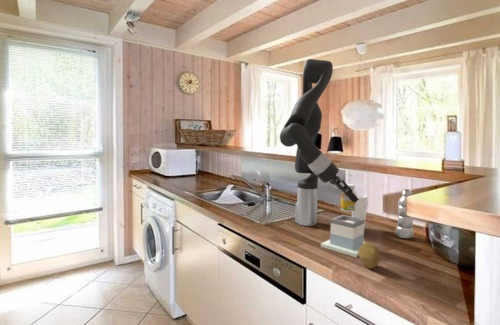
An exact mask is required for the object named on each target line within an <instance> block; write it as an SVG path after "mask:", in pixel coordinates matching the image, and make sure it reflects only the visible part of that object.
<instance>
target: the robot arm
mask: <svg viewBox="0 0 500 325" xmlns="http://www.w3.org/2000/svg"><path fill="white" fill-rule="evenodd" d="M333 70H334V69H333V63H332V61H330V60H325V59H313V58H312V59H311V58H308V59H307V60H306V61H305V62H304V66H303V72H302V95H301V96H300V97H299V98H298V99H297V101H296V102H295V104H294V105H293V106H294V107H293V109H292V111H291V113H290V116H289V118H288V119H287V120H286V122H285V124H284V125H283V127H282V129H281V131H280V134H279V140H280V143H281V144H282V145H283V146H285V147H288V148H289V147H294V146H295V145H297V148H296V153H295V161H294V169H295V171H296V173H297V174H309V175H308V176H307V177H306V178H304V179H301V180H299V181H298V182H297V196H296V197H297V200H296V201H297V202H295V203H294V204H295V206H294V207H295V208H294V210H295V212H294V214H295V216H294V223H295V224H296V223H297V225H300V226H306V227H308V226H309V227H312V226H316V225H317V221H318V220H317V218H318V215H317V214H318V186H319V185H318V184H319V179H320V181H321V182H322V183H328V182H330V185H331V186H332V187H334V188H335V189H336V190H337V191H339V193H341V192H343V193H344V194H345V195H346V196H348V197H349V198H350V200H351V201H352V202H354V203H355V202H356V201H358V198H357V197H356V196H355V195H354V194H353V191H352V189H350V187H349V186H348V185H347V184H348V183H346V182H345V180H343V178H342V177H341V176H338V175H337V174H339V168H338V167H337V166H336V165H335V163H333V161H332V160H331V159H330V158H329V157H328V156H327V155H326V154H325V153H324V152H323V151H321V150H320V148H318V147H317V146H316V144H315V143H314V141H313V139H314V138H315V137H316V136H317V135H318V134H319V132H320V130H321V126H322V117H323V114H322V110H321V108H320V105H319V104H318V100H320V98H321V96H322V94H323V93H324V91H325V90H326V88H327V86H328V85H329V83H330V81H331V79H332V76H333ZM313 84H315V85H314V86H313ZM347 189H348V190H349V191H347V192H346V190H347Z"/></svg>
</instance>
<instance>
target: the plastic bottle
mask: <svg viewBox="0 0 500 325" xmlns="http://www.w3.org/2000/svg"><path fill="white" fill-rule="evenodd" d="M410 195H411V196H412V195H413V190H412V189H402V190H401V197H399V199H398V201H397V208H398V213H397V214H398V219H397V225H396V228H395V235H396V236H397V237H398V238H401V239H407V240H408V239H411V238H413V236H414V223H413V220H414V219H413V218H414V217H413V218H410V217H407V216H406V197H408V196H410Z"/></svg>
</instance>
